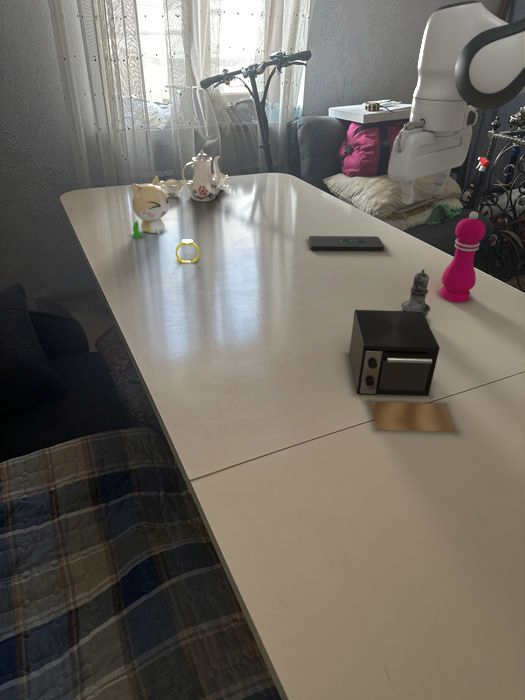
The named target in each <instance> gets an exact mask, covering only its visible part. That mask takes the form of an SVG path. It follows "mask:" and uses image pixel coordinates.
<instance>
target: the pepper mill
mask: <svg viewBox="0 0 525 700" xmlns="http://www.w3.org/2000/svg"><path fill="white" fill-rule="evenodd" d="M454 233H455V236H456V239H455V241H454V248H455V253H454V256H453V258H452V260H451V261H450V263H449V264H448V266H447V267H446V268H445V270H444V271H443V274H442V276H441V283H442V285H443V286H442V287H441V290H440V297H441V299H444V300H446V301H448V302H452V303H466V302H468V301H469V299H470V296H471V292H470V290H472V289H474V287H475V285H476V281H477V275H476V270H475V266H474V258H475V254H476V251H478V250H479V246H480V245H481V243H480V241H481V240H482V239H484V237H485V234H486V226H485V223H484V222H483V221H482V220H480V219H479V213H478V212H477V211H471V212H470V213H469V216H468V217H467V218H463V219H461V220H460V221H459V222H458V223H457V225H456V227H455V230H454Z"/></svg>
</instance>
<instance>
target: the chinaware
mask: <svg viewBox="0 0 525 700" xmlns="http://www.w3.org/2000/svg"><path fill="white" fill-rule="evenodd" d="M212 158H213V157H211V156H208V154H206V153H205V152H204V150H203V149H201V150H200V151H199V153H198V154H197V155H196V156H193V157H192V160H193V162H188V163H186V164H185V165H184V166H183V167H182V170H181V177H182V179H179V180H176V179H174V178H170V179H167V180H159V184H160V188H162V189H163V190H164V192H165V193H166V195H167V196H168V197H169V198H170V199H177V197H178V196H180V194H181V193H182V191H183V187H184V186H185V182H186V186H187V191H188V193H189V194H190V196H191V199H192V200H194V201H197V202H209V201H214V200H216V198H217V196H218V195H219V193H220V189H222V190H224V189H225V187H230V186H231V185H232V179H231V178H230V177H228V176H229V175H228V174H224V173H223V172H221V169H220V167H219V164H218V163H219V161H218V160H219V158H220V156H219V155H216V156H215V157H214V158H213V173H212V169H211V167H212V166H211V163H212ZM188 166H190V167H191V169H194V172H193V177H192V180H191V181H190V180H188V179H186V177H185V172H186V171H185V170H186V169H187V168H188ZM227 179H229V181H230V183H229V184H228V185H226V181H227Z"/></svg>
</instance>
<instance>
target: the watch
mask: <svg viewBox="0 0 525 700" xmlns="http://www.w3.org/2000/svg"><path fill="white" fill-rule="evenodd" d="M182 246H193V247H194V248H195V249H196V251H197V255H196V257H195V258H194V259H192V261H191V260H188V259H187V260H184V259H182V258H181V257H180V256H179V254H178V252H179V251H178V250H179V249H180V247H182ZM175 257H176V259H177V260H178V262H180V263H181V264H187V263H188V264H189V263H196V262H197V261H198V260H199V258H200V249H199V246H198V245H197V244H196V243H195V242H194V240H193V239H191V238H185V239H182V240H181V242H180V243H178V245H177V246H176V248H175Z"/></svg>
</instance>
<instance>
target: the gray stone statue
mask: <svg viewBox="0 0 525 700" xmlns="http://www.w3.org/2000/svg"><path fill="white" fill-rule="evenodd" d="M429 280H430V276H429V275H428V274H427V273H426V271H425V269H424V268H422V269H421V272H417V273H415V275H414V277H413V282H412V286H411V287H410V288H409V291H410V296H409V299H408V300H405V301H403V302H402V303H401V306H400V307H401V311H420V312H423V314H424V316H425V318H426V317H427V316H428V314H429V313H430V312H431V306H430V305H429V304H428V303H426V297H427V294H428V293H429V289H428V286H429Z"/></svg>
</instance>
